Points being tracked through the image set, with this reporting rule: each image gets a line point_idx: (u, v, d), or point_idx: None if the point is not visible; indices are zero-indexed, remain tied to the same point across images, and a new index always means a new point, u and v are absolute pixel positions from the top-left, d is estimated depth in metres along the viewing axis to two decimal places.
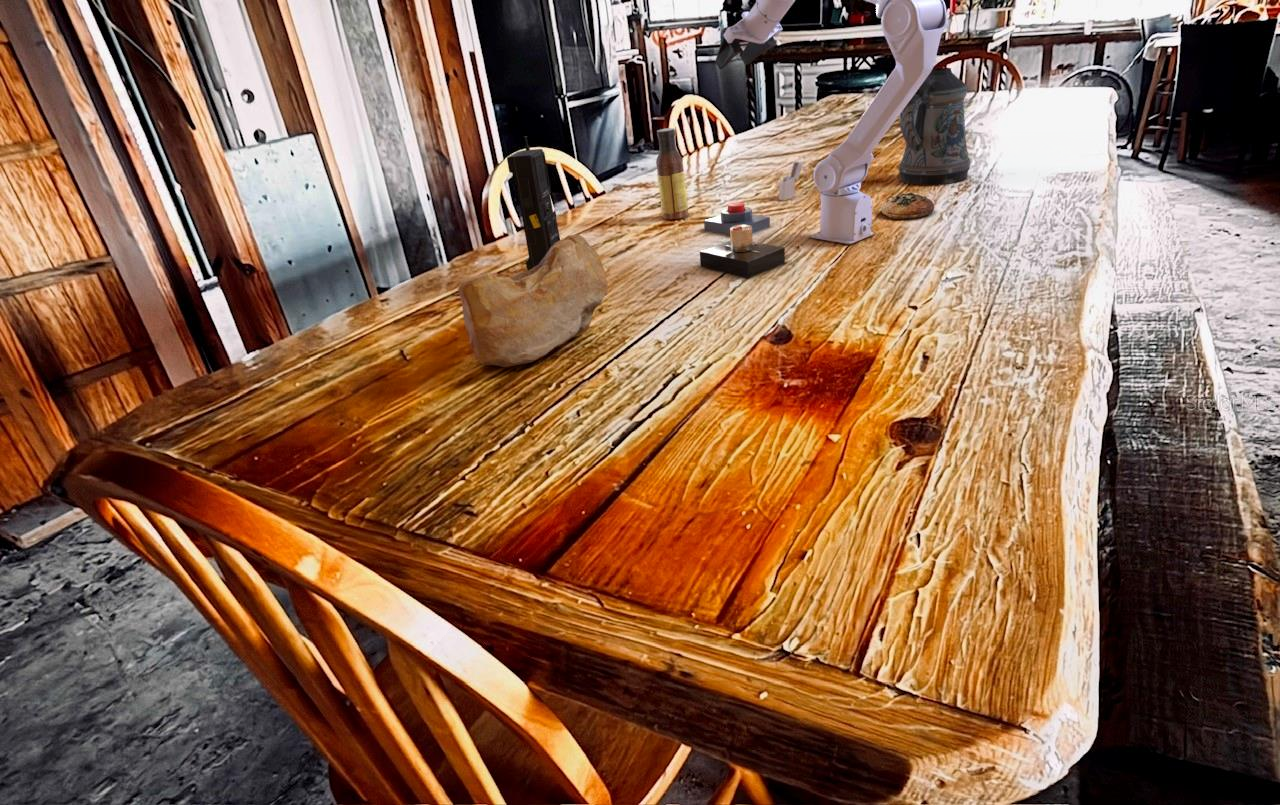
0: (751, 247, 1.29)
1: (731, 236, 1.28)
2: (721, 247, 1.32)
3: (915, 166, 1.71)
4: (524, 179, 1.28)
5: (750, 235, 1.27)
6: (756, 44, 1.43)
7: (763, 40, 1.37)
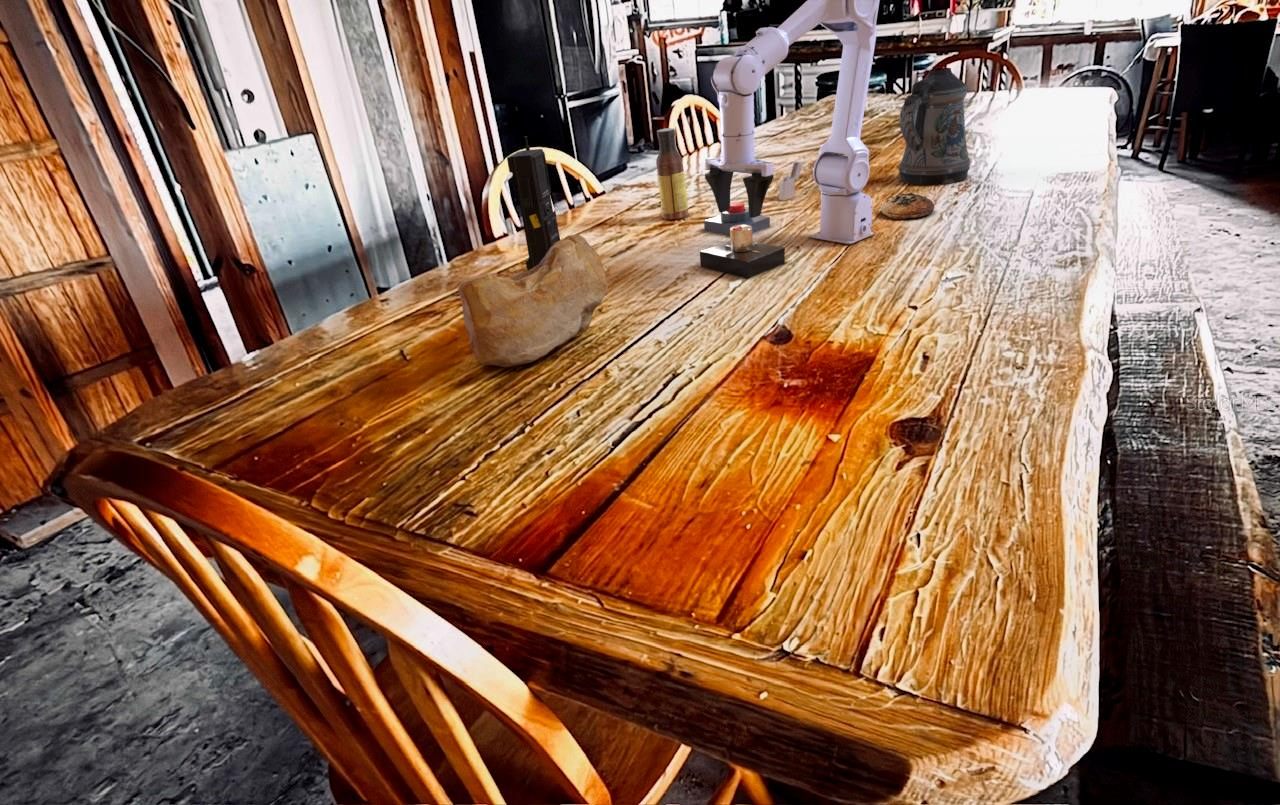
0: (751, 247, 1.29)
1: (731, 236, 1.28)
2: (721, 247, 1.32)
3: (915, 166, 1.71)
4: (524, 179, 1.28)
5: (750, 235, 1.27)
6: (724, 185, 1.27)
7: None
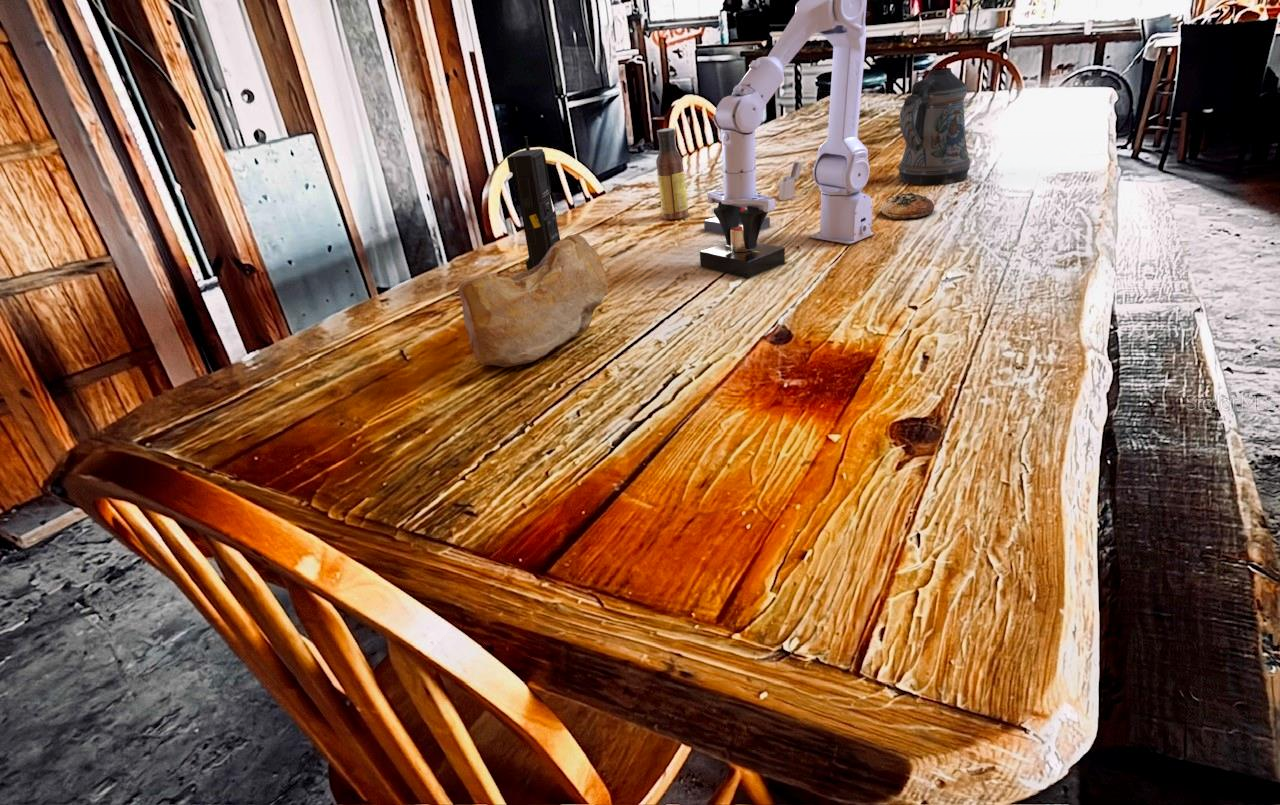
0: None
1: (731, 236, 1.28)
2: (721, 247, 1.32)
3: (915, 166, 1.71)
4: (524, 179, 1.28)
5: None
6: (732, 219, 1.29)
7: None
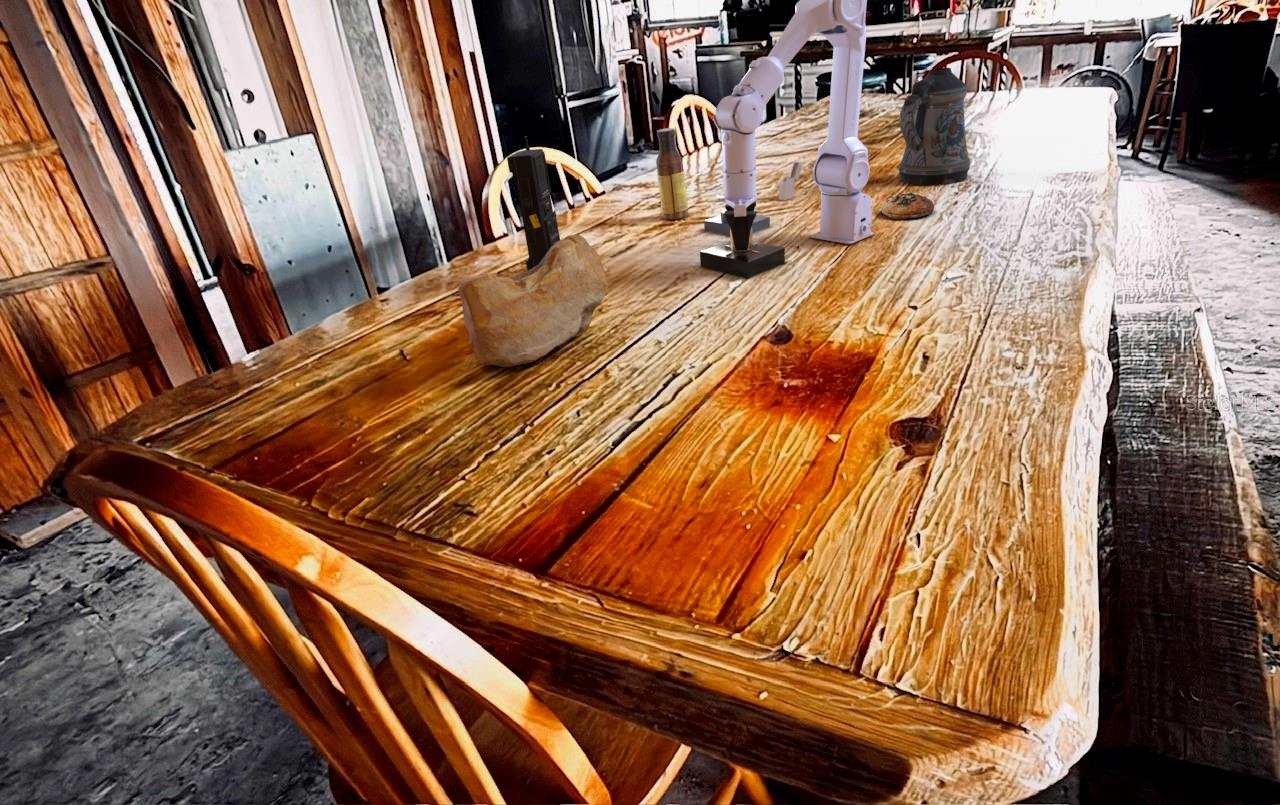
0: None
1: None
2: (721, 247, 1.32)
3: (915, 166, 1.71)
4: (524, 179, 1.28)
5: None
6: None
7: (756, 194, 1.25)
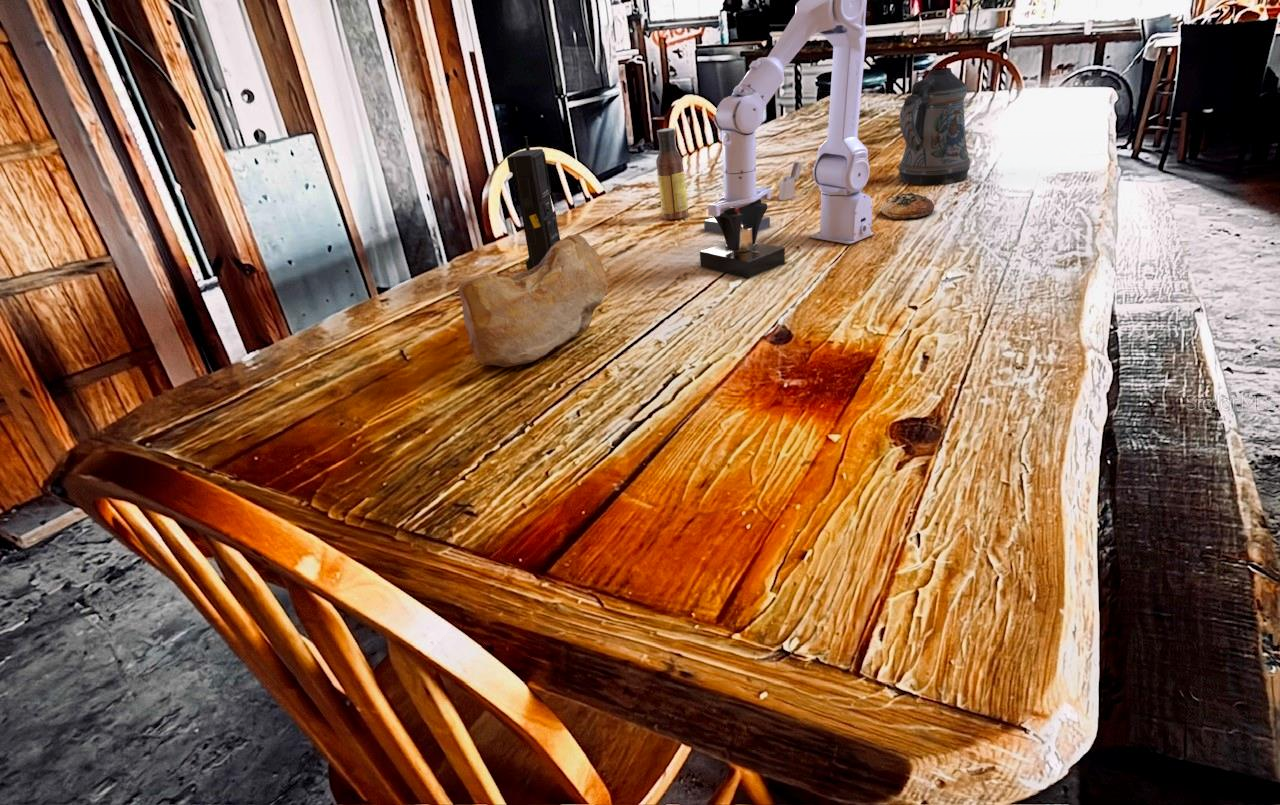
0: None
1: None
2: (721, 247, 1.32)
3: (915, 166, 1.71)
4: (524, 179, 1.28)
5: None
6: (749, 218, 1.28)
7: (752, 197, 1.23)
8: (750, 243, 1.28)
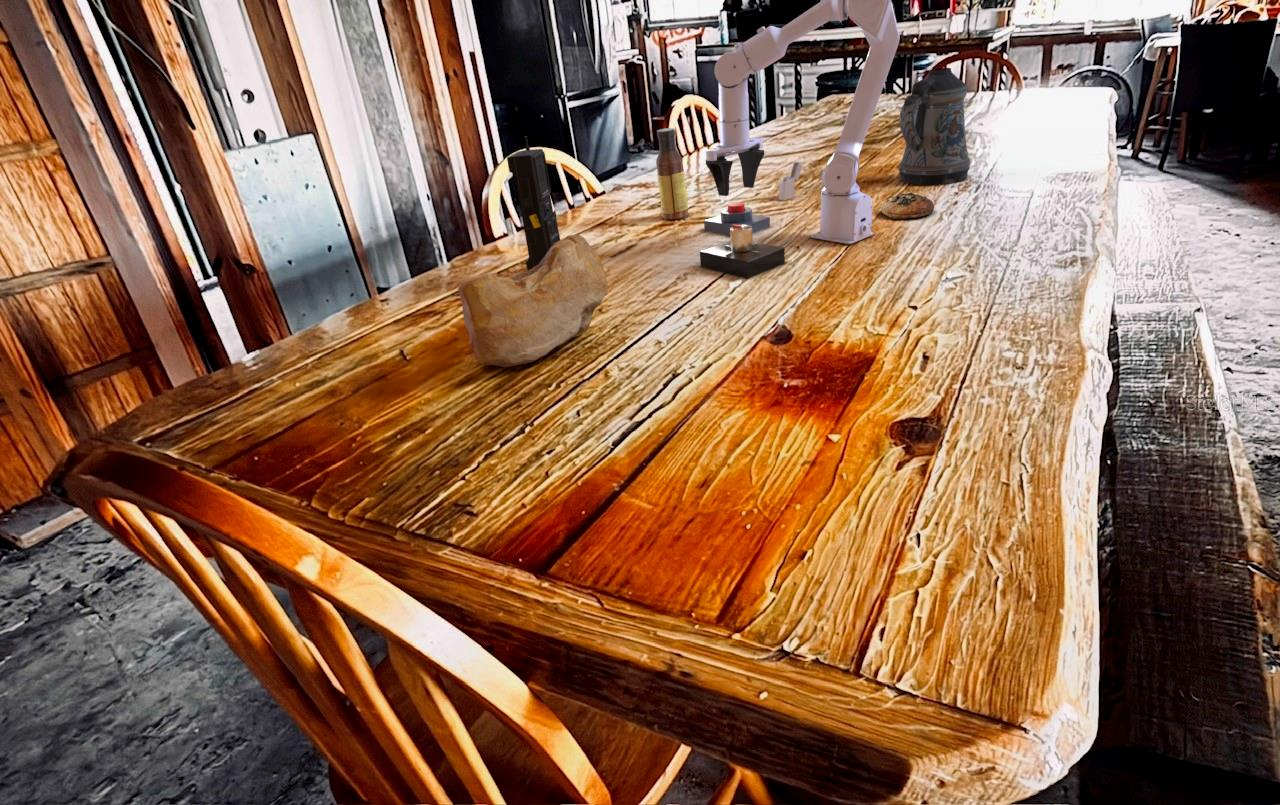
0: (737, 249, 1.28)
1: None
2: (721, 247, 1.32)
3: (915, 166, 1.71)
4: (524, 179, 1.28)
5: (735, 237, 1.27)
6: (748, 163, 1.43)
7: (745, 144, 1.37)
8: (750, 243, 1.28)
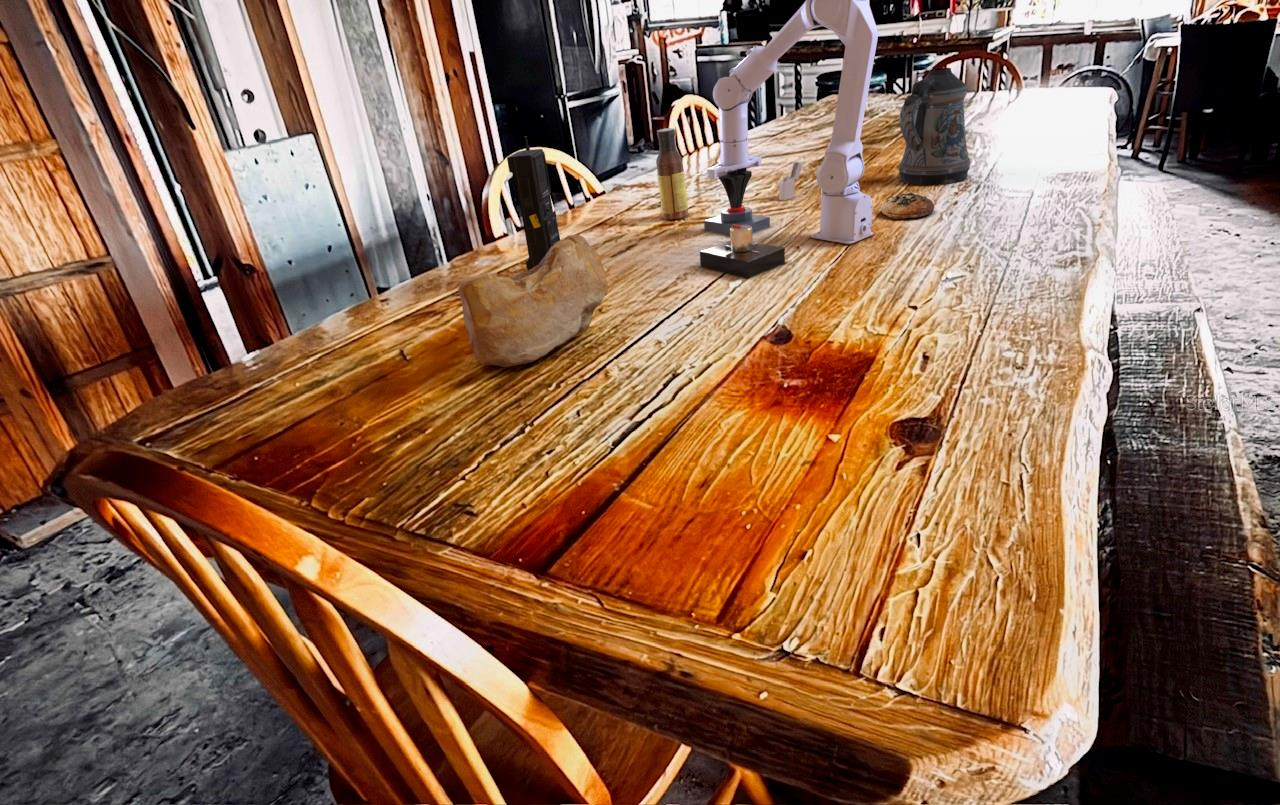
0: (737, 249, 1.28)
1: None
2: (721, 247, 1.32)
3: (915, 166, 1.71)
4: (524, 179, 1.28)
5: (735, 237, 1.27)
6: None
7: (744, 163, 1.45)
8: (750, 243, 1.28)
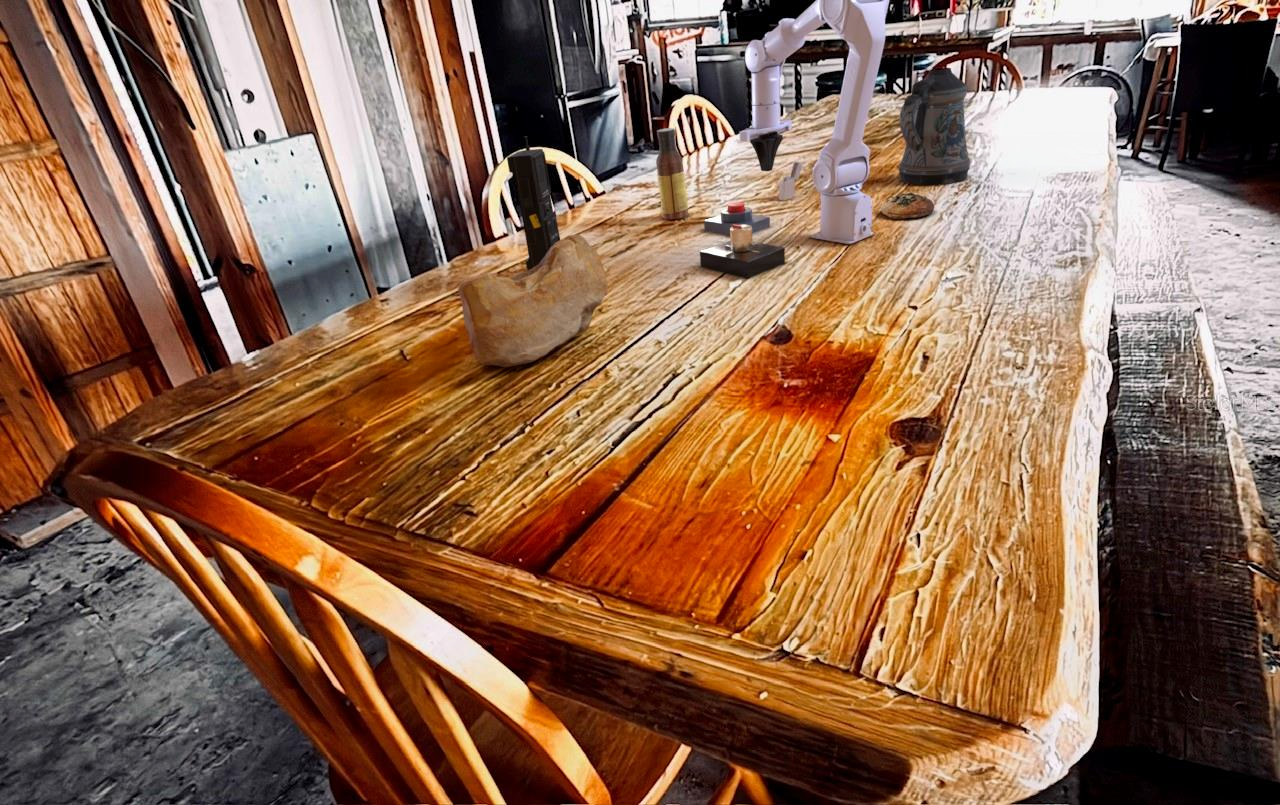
0: (737, 249, 1.28)
1: None
2: (721, 247, 1.32)
3: (915, 166, 1.71)
4: (524, 179, 1.28)
5: (735, 237, 1.27)
6: None
7: (776, 126, 1.47)
8: (750, 243, 1.28)
